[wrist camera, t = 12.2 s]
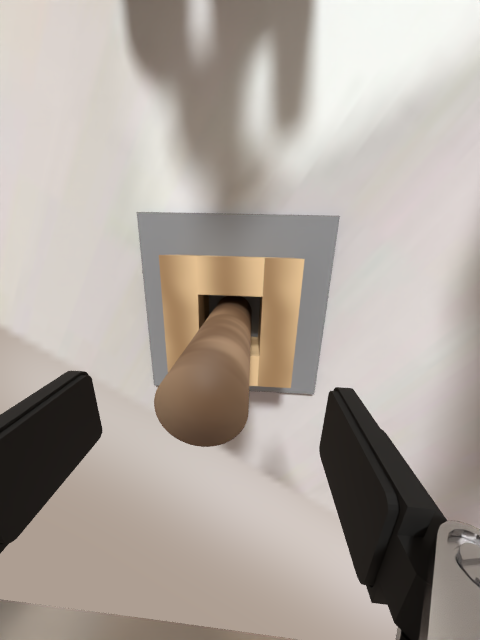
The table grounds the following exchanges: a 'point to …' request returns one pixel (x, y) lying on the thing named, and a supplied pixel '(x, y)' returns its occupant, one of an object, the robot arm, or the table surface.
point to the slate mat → (249, 241)
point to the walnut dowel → (210, 379)
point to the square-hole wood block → (235, 280)
